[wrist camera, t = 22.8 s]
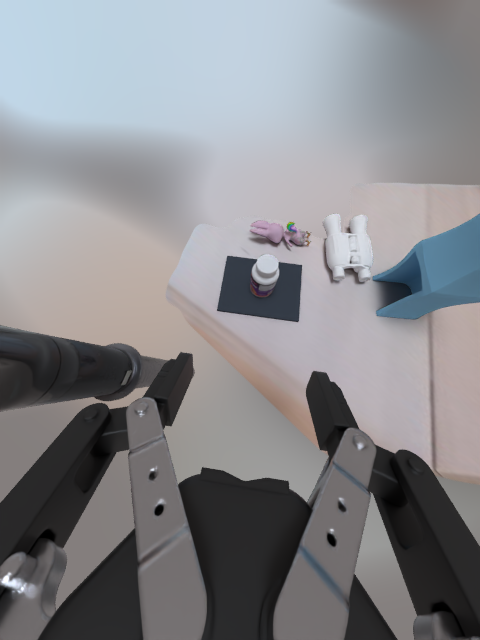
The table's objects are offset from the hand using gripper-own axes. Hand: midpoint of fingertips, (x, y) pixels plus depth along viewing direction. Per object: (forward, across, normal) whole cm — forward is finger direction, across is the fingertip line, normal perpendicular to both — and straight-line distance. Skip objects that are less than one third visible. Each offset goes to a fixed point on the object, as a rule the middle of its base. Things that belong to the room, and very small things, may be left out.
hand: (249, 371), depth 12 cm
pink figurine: (+43, -5, -5) cm, 43 cm away
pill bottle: (+32, -2, +5) cm, 33 cm away
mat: (+33, -2, +5) cm, 33 cm away
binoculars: (+41, -21, -3) cm, 46 cm away
